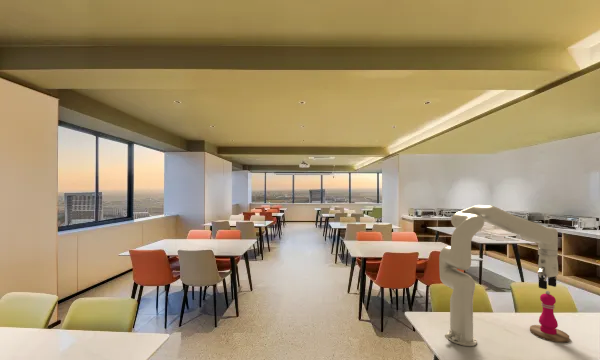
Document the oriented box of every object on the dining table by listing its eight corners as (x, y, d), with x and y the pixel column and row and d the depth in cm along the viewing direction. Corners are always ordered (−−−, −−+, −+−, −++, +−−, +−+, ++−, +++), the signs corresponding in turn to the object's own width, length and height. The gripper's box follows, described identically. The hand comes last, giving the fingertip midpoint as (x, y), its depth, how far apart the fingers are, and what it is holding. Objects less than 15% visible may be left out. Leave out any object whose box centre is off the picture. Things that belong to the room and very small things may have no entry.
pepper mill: (561, 336, 143) (560, 293, 144) (544, 334, 144) (543, 292, 145) (551, 329, 150) (551, 289, 151) (535, 327, 151) (535, 288, 152)
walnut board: (561, 345, 137) (561, 342, 137) (523, 331, 150) (523, 328, 150) (575, 338, 144) (575, 335, 144) (538, 325, 157) (538, 322, 157)
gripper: (548, 255, 141) (548, 291, 140) (564, 252, 149) (564, 287, 149) (530, 252, 148) (529, 287, 147) (546, 250, 156) (546, 283, 155)
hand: (547, 287), depth 148 cm, fingers open, 9 cm apart
